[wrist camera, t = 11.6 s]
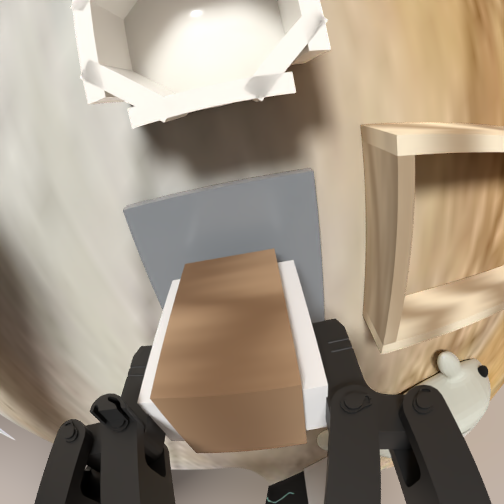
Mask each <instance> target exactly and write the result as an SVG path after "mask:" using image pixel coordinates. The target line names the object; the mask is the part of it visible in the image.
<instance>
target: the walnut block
mask: <svg viewBox="0 0 504 504" xmlns="http://www.w3.org/2000/svg"><path fill="white" fill-rule="evenodd" d="M150 399H151V401H152V402H153V403H154V404H155V406H156V407H157V408H158V409H159V411H160V412H161V413H162V414H163V416H164V417H165V418H166V419H167V420H168V422H169V423H170V424H171V425H172V426H173V427H174V429H175V430H176V431H177V432H178V433H179V434H180V436H181V437H182V438H183V439H184V440H185V441H186V442H187V443H188V444H189V445H190V447H191V448H192V449H193V450H194V451H195V452H196V453H221V452H239V451H252V450H262V449H271V448H279V447H286V446H293V445H299V444H305V443H307V439H306V427H305V415H304V404H303V393H302V384H301V379H300V373H299V368H298V363H297V357H296V352H295V347H294V342H293V337H292V332H291V327H290V322H289V317H288V312H287V307H286V302H285V297H284V292H283V287H282V282H281V278H280V273H279V268H278V263H277V259H276V254H275V249H268V250H262V251H256V252H251V253H245V254H239V255H233V256H227V257H222V258H216V259H210V260H204V261H199V262H193V263H187V264H185V265H184V269H183V272H182V276H181V279H180V282H179V286H178V289H177V293H176V296H175V300H174V303H173V307H172V311H171V314H170V318H169V322H168V326H167V329H166V333H165V337H164V341H163V345H162V349H161V353H160V357H159V361H158V365H157V369H156V373H155V378H154V382H153V386H152V391H151V395H150Z"/></svg>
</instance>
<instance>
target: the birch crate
mask: <svg viewBox="0 0 504 504" xmlns="http://www.w3.org/2000/svg"><path fill="white" fill-rule="evenodd" d="M361 134H362V145H363V158H364V174H365V196H366V266H365V289H364V305H363V317H364V319H365V321H366V323H367V325H368V327H369V329H370V331H371V334H372V336H373V338H374V340H375V342H376V344H377V346H378V349H379V351H380V353H381V355H383V354H386V353H389V352H393V351H396V350H400V349H403V348H406V347H409V346H412V345H415V344H418V343H421V342H424V341H427V340H430V339H433V338H436V337H439V336H442V335H444V334H447V333H450V332H452V331H455V330H457V329H460V328H463V327H465V326H468V325H470V324H472V323H475V322H477V321H480V320H482V319H484V318H486V317H489V316H491V315H493V314H495V313H498V312H500V311H502V310H504V265H503V266H500V267H497V268H495V269H492V270H489V271H486V272H483V273H480V274H477V275H474V276H471V277H468V278H464V279H461V280H458V281H455V282H451V283H448V284H445V285H441V286H438V287H435V288H431V289H428V290H424V291H420V292H417V293H413V294H409V295H406V296H405V292H406V286H407V279H408V272H409V264H410V255H411V245H412V234H413V220H414V201H415V155H420V154H438V153H463V152H504V126H496V125H483V124H468V123H438V122H412V123H381V124H364V125H361Z"/></svg>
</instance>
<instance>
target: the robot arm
mask: <svg viewBox="0 0 504 504" xmlns="http://www.w3.org/2000/svg"><path fill="white" fill-rule="evenodd" d="M278 268H279V273H280V278H281V282H282V287H283V292H284V297H285V302H286V307H287V312H288V317H289V322H290V327H291V332H292V337H293V342H294V347H295V352H296V357H297V363H298V368H299V373H300V379H301V384H302V393H303V404H304V415H305V427H306V430H312V429H317V428H322V427H326V425H327V428H328V433H329V436H328V455H327V472H326V485H325V497H324V504H381V503H380V502H381V475H380V474H381V472H380V449H389V452H390V455H391V458H392V461H393V464H394V467H395V470H396V473H397V475H398V479H399V482H400V485H401V488H402V491H403V494H404V497H405V501H406V504H491V501H490V498H489V496H488V493H487V491H486V488H485V485H484V483H483V481H482V478H481V475H480V473H479V471H478V468H477V466H476V463H475V461H474V459H473V457H472V454H471V452H470V450H469V448H468V446H467V443H466V441H465V439H464V437H463V435H462V433H461V431H460V429H459V427H458V425H457V423H456V421H455V419H454V417H453V415H452V413H451V411H450V409H449V407H448V405H447V403H446V401H445V399H444V398H443V396H442V394H441V393H440V392H439V391H438V389H436V388H434V387H432V386H430V385H419V386H415V387H413V388H412V389H410V390H409V391H408V392H407V393H406V394H405V395H387V394H381V393H378V392H375V391H374V390H372V389H370V388H369V386H368V385H367V384H366V383H365V381H364V378H363V376H362V373H361V370H360V367H359V364H358V362H357V359H356V356H355V353H354V351H353V349H352V345H351V343H350V340H349V337H348V335H347V332H346V330H345V327H344V326H343V325H342V324H341V323H340V322H339V321H337V320H336V319H331V320H326V321H321V322H316V323H311V319H310V316H309V312H308V308H307V305H306V301H305V298H304V294H303V291H302V287H301V284H300V281H299V277H298V274H297V270H296V267H295V264H294V260H290V261H284V262H279V263H278ZM179 282H180V279H178V280H173V281H172V284H171V287H170V290H169V293H168V296H167V299H166V302H165V306H164V309H163V312H162V315H161V319H160V322H159V325H158V329H157V332H156V335H155V339H154V342H153V346H141V347H140V348H139V350H138V351H137V352H136V354H135V355H134V357H133V360H132V363H131V366H130V367H131V368H130V369H129V372H128V377H127V379H126V382H125V385H124V389H123V392H122V395H121V397H120V396H118V395H116V394H106V395H103V396H101V397H99V398H98V399H97V400H96V401H95V402H94V403H93V405H92V407H91V410H90V412H91V413H92V414H93V415H94V416H95V417H96V418H97V419H98V420H99V421H100V423H96V424H92V425H87V426H85V425H84V424H83V423H82V422H81V421H78V420H76V419H71V420H68V421H66V422H65V423H64V424H63V425H61V427H60V429H59V431H58V433H57V436H56V438H55V441H54V444H53V447H52V449H51V452H50V455H49V458H48V461H47V464H46V467H45V470H44V473H43V477H42V480H41V483H40V486H39V490H38V493H37V497H36V500H35V504H175V498H174V491H173V484H172V475H171V467H170V457H169V451H168V448H167V446H166V445H165V444H164V441H165V435H166V436H167V437H168V438H169V439H170V440H171V441H185V440H184V439H183V438H182V437H181V436H180V434H179V433H178V432H177V431H176V430H175V429H174V427H173V426H172V425H171V424H170V423H169V422H168V420H167V419H166V418H165V417H164V416H163V414H162V413H161V412H160V411H159V409H158V408H157V407H156V406H155V404H154V403H153V402H152V401H151V399H150V395H151V391H152V386H153V382H154V378H155V373H156V369H157V365H158V361H159V357H160V353H161V349H162V345H163V341H164V337H165V333H166V329H167V326H168V322H169V318H170V314H171V311H172V307H173V303H174V300H175V296H176V293H177V289H178V286H179ZM86 465H88V466H87V468H86V469H85V466H86Z"/></svg>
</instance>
